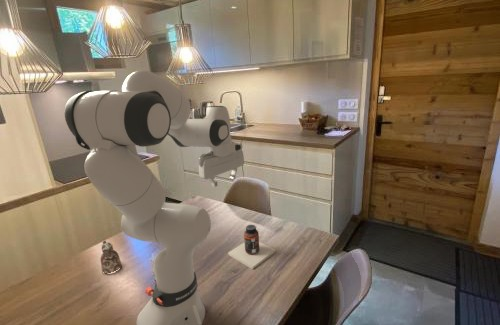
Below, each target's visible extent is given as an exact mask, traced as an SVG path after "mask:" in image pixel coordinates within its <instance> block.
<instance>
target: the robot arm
mask: <svg viewBox="0 0 500 325" xmlns="http://www.w3.org/2000/svg"><path fill="white" fill-rule="evenodd" d="M190 114H191V103H190V100H189V98H188V97H187V95H186V94H185V93H184V92H183V90H181V89H180V88H178V87H177V86H176V85H174V83H172V82H170V81H169V80H168V79H166V78H164V77H162V76H160V75H158V74H156V73H155V72H152V71H149V70H145V69H141V70H135V71H133V72H132V73H130V74H128V76H127V77H126V78H125V79H124V81H123V83H122V86H121V90H115V89H113V90H109V89H108V90H86V91H82V92H79V93H76V94H74V95H73V96H71V97H70V98H69V99H68V100H67V101H66V104H65V107H64V118H65V122H66V123H65V124H66V125H67V127H68V129H69V131H70V132H71V134H72V135H73V136H74V137H75V142H76V144H78V146H80V147H81V148H82V149H86V150H89V151H90V152H89V153H88V154H87V156H86V158H85V161H84V163H83V164H84V165H83V167H84V173H85V175H86V177H87V178H88V179H89V182H90V183H91V184H92V186H93V187H94V188H95V189H96V190H97V192H98V193H99V194H100V195H101V196H102V197H103V198H104V199H105V200H106V201H107V202H108V203H110V204H111V206H113V207H114V209H116V210H118V211H119V213H121V214H122V215H121V218H120V225H121V226H120V227H121V229H122V232H123V234H125V235H126V236H127V237H130V238H132V239H134V240H138V241H141V242H148V243H156V244H162V245H164V248H162V249H161V250H160V251H159V252H158V253H157V254H156V255H155V258H154V260H153V263H152V269H153V272H154V278H155V284H154V289H153V288H152V287H151V286H147V287H146V288H145V290H144V292H145V294H147V296H148V297H151V298H150V299H149V300H148V302H147V303H146V305H145V306H144V307H143V308H142V310H140V312H139V314H138V315H137V318H136V325H203V322H204V320H205V316H206V308H205V305H204V304H203V302H202V299H201V296H200V294H199V291H198V280H197V275H196V272H195V270H194V261H193V258H194V257H193V255H194V251H195V250H196V248H197V247H198V246H200V245H201V244H203V243H204V242H205V240H206V239H207V238H208V236H209V234H210V232H211V228H212V220H211V217H210V214H209V212H208V211H207V210H206V209H205V208H202V207H200V206H197V205H192V204H189V203H187V204H186V203H185V204H184V203H175V202H166V189H165V187H164V185H163V184H162V183H161V181H160V179H158V178H157V176H156V175H155V174H154V172H153V171H152V170H151V169H150V168H149V165H147V164H146V163H145V162H144V161H143V159H141V158H140V156H139V153H138V151H137V147H143V148H144V147H153V146H156V145H159V144H160V143H162V142H163V141H164V140H165V139H166V137H167V136H169V137H170V138H171V139H172V140H173V141H174V143H175V144H176V145H177V146H178V147H180V148H187V147H195V148H196V147H199V148H200V147H203V148H204V147H205V148H206V147H207V148H208V152H206V153H202V154H201V155H200V156H199V158H198V175H199V177H200V178H201V179H204V180H209V181H210V183H211V187H213V188H216V187H218V186H219V185H218V181H215V177H217V176H220V175H222V174H224V173H227V172H229V171H231V172H230V173H231V174H229V179H230V180H236V177H237V176H236V174H237V173H238V172H237V171H238V168H239V167H242V166H243V165H244V163H245V156H244V151H243V144H242V143H237V142H234V141H233V139H232V136H231V129H232V128H231V119H230V114H229V110H228V108H227V107H226V106H224V105H209V106H207V107H206V110H205V116H204V118H190ZM83 144H84V145H83Z"/></svg>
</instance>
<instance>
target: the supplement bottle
mask: <svg viewBox="0 0 500 325" xmlns="http://www.w3.org/2000/svg"><path fill="white" fill-rule="evenodd" d="M243 233H244V234H243V239H244V242H245V251H246V253H248V254H251V255H252V254H256V253H258V252H259V242H260V238H259V237H260V236H259V231H258V230H257V226H256V225H255V224H248V225H246V226H245V231H244V232H243Z"/></svg>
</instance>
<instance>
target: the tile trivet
mask: <svg viewBox="0 0 500 325" xmlns="http://www.w3.org/2000/svg"><path fill="white" fill-rule="evenodd" d="M276 251H277V250H276V249H275V248H272V247H271V246H269V245H267V244H264V243H263V242H260V241H259V252H258V253H256V254H252V255H251V254H248V253H246V251H245V241H244V242H243V243H241V244H239V245H238V246H237V247H235V248H233V249H232V250H230V251H228V252H227V255H228V256H230V257H231V258H232V259H234V260H236V261H237V262H239V263H241V264H243V265H245V266H246V267H248V268H250V269H251V270H254V269H255V268H257V267H258V266H259V265H261V264H262V263H263V262H264V261H266V260H268V259H269V258H270V257H271V256H272V255H273V254H275V253H276Z"/></svg>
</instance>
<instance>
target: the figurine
mask: <svg viewBox="0 0 500 325" xmlns="http://www.w3.org/2000/svg"><path fill="white" fill-rule="evenodd" d="M101 251H102V254H101V256H100V265H101V268H100V269H101V272H102V273H103V272H104V273H111V272H114V271H116V270H118V269H119V268H121V269H122V267H121V265H122V261H121V259H120V256H119V253H118V252H117V251H116V250H115V249H114V247H113V244H112V243H110V242H107V241H106V240H103V241H102V246H101ZM118 271H119V270H118Z"/></svg>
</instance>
